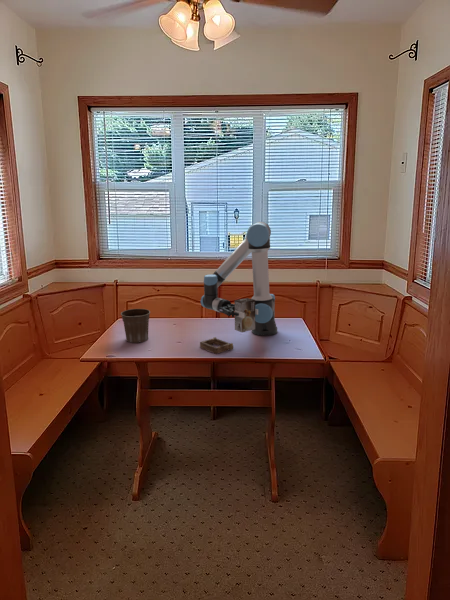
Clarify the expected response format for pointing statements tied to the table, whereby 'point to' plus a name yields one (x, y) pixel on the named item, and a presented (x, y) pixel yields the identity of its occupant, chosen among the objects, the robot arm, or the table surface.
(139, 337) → the plant pot
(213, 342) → the brown open rectangular frame
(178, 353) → the table surface
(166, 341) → the table surface
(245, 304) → the coffee box
